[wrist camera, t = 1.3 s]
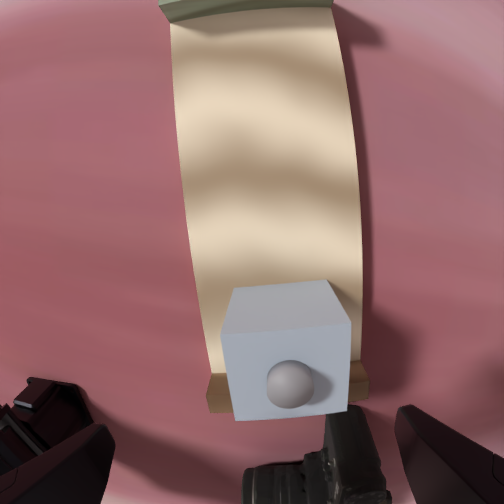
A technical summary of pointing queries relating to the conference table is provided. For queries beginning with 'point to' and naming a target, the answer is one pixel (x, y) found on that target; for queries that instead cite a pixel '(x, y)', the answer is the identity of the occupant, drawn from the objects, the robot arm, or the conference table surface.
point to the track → (265, 159)
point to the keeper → (286, 351)
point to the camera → (325, 469)
